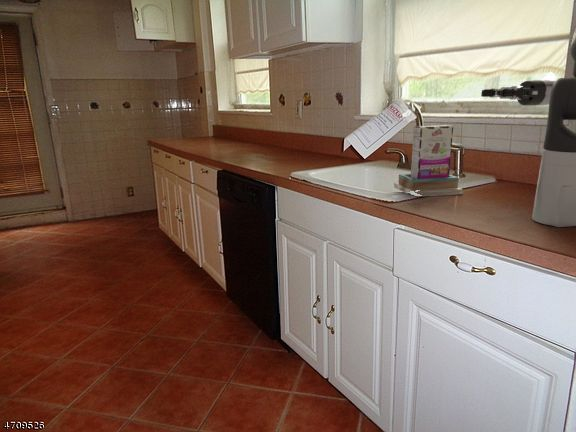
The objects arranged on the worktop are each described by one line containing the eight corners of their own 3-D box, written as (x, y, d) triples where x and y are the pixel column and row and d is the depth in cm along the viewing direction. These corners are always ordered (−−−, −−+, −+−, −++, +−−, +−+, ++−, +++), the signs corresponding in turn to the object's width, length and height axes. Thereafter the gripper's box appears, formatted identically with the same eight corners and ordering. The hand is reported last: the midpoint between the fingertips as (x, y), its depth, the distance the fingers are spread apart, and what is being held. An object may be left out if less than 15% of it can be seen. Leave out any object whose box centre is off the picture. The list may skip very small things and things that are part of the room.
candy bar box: (440, 176, 139) (445, 124, 134) (449, 178, 134) (454, 125, 130) (409, 177, 136) (413, 125, 132) (417, 180, 132) (421, 126, 127)
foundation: (462, 194, 132) (464, 178, 130) (414, 196, 128) (416, 181, 127) (437, 185, 145) (439, 171, 143) (394, 187, 141) (395, 173, 140)
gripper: (522, 80, 137) (477, 80, 133) (558, 79, 123) (509, 79, 120) (519, 104, 139) (475, 105, 135) (554, 106, 125) (506, 106, 122)
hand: (491, 93), depth 128 cm, fingers open, 8 cm apart
